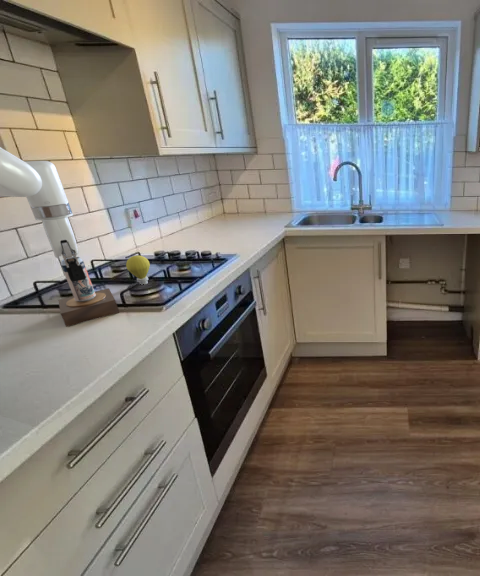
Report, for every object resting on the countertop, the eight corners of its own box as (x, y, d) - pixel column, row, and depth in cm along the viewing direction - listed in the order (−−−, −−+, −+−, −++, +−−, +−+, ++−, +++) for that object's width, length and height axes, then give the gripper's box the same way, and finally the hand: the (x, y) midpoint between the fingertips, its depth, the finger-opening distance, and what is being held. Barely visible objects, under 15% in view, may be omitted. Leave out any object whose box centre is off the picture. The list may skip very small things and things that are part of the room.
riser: (66, 326, 96) (60, 312, 95) (63, 312, 105) (57, 299, 103) (119, 312, 104) (114, 298, 102) (113, 300, 112) (108, 287, 110)
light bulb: (159, 280, 127) (151, 253, 123) (144, 287, 121) (135, 259, 117) (143, 279, 128) (135, 252, 124) (127, 286, 122) (118, 258, 118)
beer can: (83, 303, 100) (67, 262, 95) (71, 301, 101) (55, 260, 96) (100, 296, 104) (86, 256, 99) (89, 294, 105) (74, 255, 101)
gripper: (33, 209, 96) (58, 273, 103) (33, 218, 85) (62, 289, 92) (68, 205, 101) (91, 266, 108) (73, 213, 89) (98, 281, 96)
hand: (77, 276), depth 100 cm, fingers open, 5 cm apart
